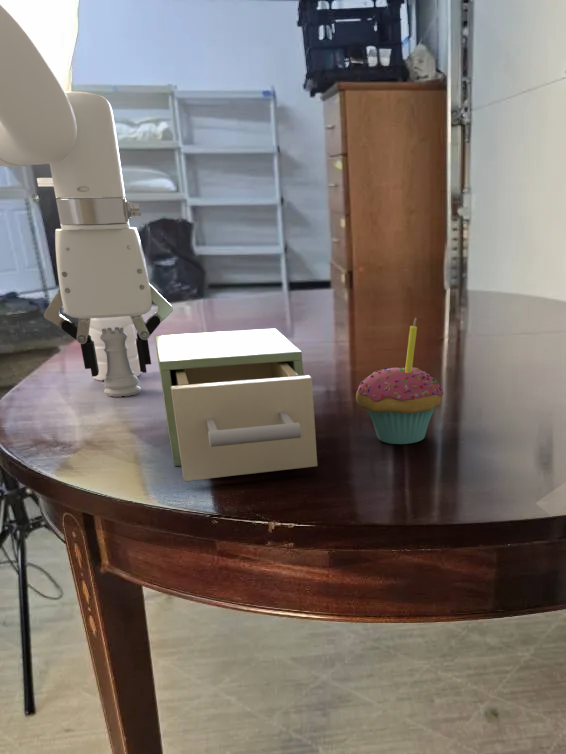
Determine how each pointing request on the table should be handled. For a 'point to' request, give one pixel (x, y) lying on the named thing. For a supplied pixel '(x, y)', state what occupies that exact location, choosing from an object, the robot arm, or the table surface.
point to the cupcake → (400, 399)
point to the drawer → (243, 420)
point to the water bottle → (108, 322)
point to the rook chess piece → (118, 365)
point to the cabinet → (217, 359)
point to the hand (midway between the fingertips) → (119, 371)
